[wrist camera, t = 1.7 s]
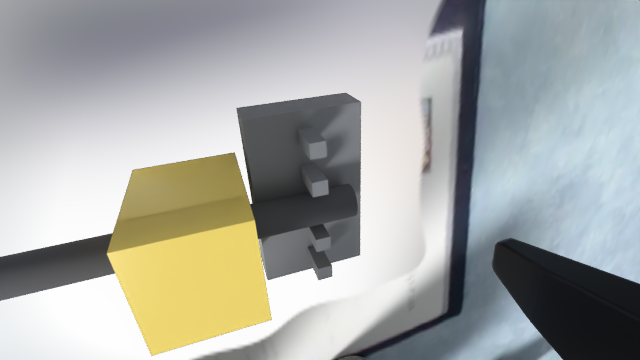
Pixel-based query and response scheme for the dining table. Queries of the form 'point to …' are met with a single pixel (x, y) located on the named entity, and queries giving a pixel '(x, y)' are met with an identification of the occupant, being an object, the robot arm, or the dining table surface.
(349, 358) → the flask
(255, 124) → the grey pronged block
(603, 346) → the robot arm
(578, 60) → the dining table surface
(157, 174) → the sleeve
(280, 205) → the dark grey rod
